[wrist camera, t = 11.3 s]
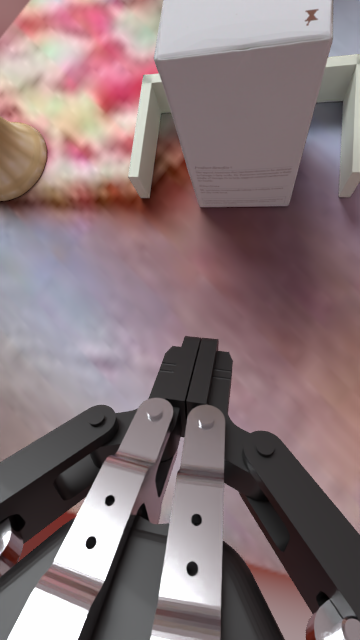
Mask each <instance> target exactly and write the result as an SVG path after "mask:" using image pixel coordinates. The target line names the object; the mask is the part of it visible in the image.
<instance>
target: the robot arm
mask: <svg viewBox="0 0 360 640" xmlns="http://www.w3.org/2000/svg"><path fill="white" fill-rule="evenodd" d="M218 342H219V341H218V339H209V338H202V339H201V338H199V337H189V336H185V338H184V341H183V344H182V347H176V346H172V347H171V348H170V349H169V350H168V351H167V352H166V353H165V356H164V359H163V361H162V364H161V367H160V371H159V372H158V375H157V378H156V380H155V383H154V386H153V388H152V391H151V394H150V397H149V399H148V400H146V401H144V402H143V403H142V404H141V405H140V406H139V408H138V409H136V410H133V411H128V412H121V413H115V412H114V410H113V409H112V408H110V407H109V406H106V405H97V406H93V407H91V408H89V409H87V410H86V411H84V412H82V413H81V414H79V415H78V416H76V417H74V418H73V419H71V420H69V421H68V422H66V423H64V424H63V425H61V426H59V427H58V428H56V429H54V430H53V431H51V432H49V433H48V434H46V435H45V436H43V437H41V438H40V439H38V440H36V441H35V442H33V443H31V444H30V445H28V446H26V447H25V448H23V449H21V450H20V451H18V452H16V453H15V454H13V455H12V456H10V457H8V458H7V459H5V460H3V461H2V462H0V640H285V639H284V637H283V635H282V633H281V631H280V629H279V627H278V625H277V623H276V621H275V619H274V617H273V615H272V613H271V611H270V609H269V607H268V605H267V603H266V601H265V599H264V597H263V595H262V593H261V591H260V589H259V587H258V585H257V583H256V581H255V579H254V577H253V575H252V573H251V571H250V569H249V568H248V566H247V565H246V563H245V562H244V560H243V559H242V558H241V557H240V555H239V554H238V553H237V552H236V551H235V550H234V549H233V548H232V547H231V546H229V545H228V544H227V543H225V542H224V541H223V505H224V483H226V484H227V485H229V486H231V487H233V488H234V489H236V490H238V491H239V494H240V496H241V498H242V499H243V501H244V502H245V504H246V506H247V507H248V509H249V511H250V512H251V514H252V515H253V517H254V519H255V520H256V522H257V524H258V525H259V527H260V529H261V530H262V532H263V533H264V535H265V537H266V538H267V540H268V542H269V543H270V545H271V547H272V548H273V550H274V551H275V553H276V555H277V556H278V558H279V560H280V561H281V563H282V564H283V566H284V568H285V569H286V571H287V573H288V574H289V576H290V578H291V579H292V581H293V582H294V584H295V586H296V587H297V589H298V591H299V592H300V594H301V596H302V597H303V599H304V600H305V602H306V604H307V605H308V607H309V608H310V610H311V612H312V614H313V615H312V616H311V618H310V619H309V621H308V624H307V628H306V640H360V535H359V533H358V532H357V531H356V530H355V529H354V527H353V526H352V525H351V524H350V523H349V521H348V520H347V519H346V518H345V517H344V515H343V514H342V513H341V512H340V511H339V509H338V508H337V507H336V506H335V505H334V503H333V502H332V501H331V500H330V499H329V497H328V496H327V495H326V494H325V493H324V491H323V490H322V489H321V488H320V487H319V485H318V484H317V483H316V482H315V481H314V479H313V478H312V477H311V476H310V475H309V473H308V472H307V471H306V470H305V469H304V467H303V466H302V465H301V464H300V463H299V461H298V460H297V459H296V458H295V457H294V455H293V454H292V453H291V452H290V451H289V449H288V448H287V447H286V446H285V445H284V443H283V442H282V441H281V440H280V439H279V438H278V437H277V436H276V435H274V434H272V433H270V432H267V431H255V432H252V433H249V432H247V431H245V430H242V429H241V428H239V427H237V426H236V425H235V424H234V423H233V422H232V421H231V420H230V418H229V416H228V407H229V397H230V388H231V377H232V363H233V361H232V358H231V356H230V354H229V352H222V351H218ZM180 437H185V438H184V445H183V452H182V459H181V466H180V470H179V471H178V473H177V478H176V484H175V491H174V497H173V504H172V511H171V518H170V523H169V524H158V523H159V519H160V514H161V506H162V501H163V497H164V494H165V491H166V488H167V485H168V482H169V478H170V475H171V472H172V469H173V466H174V463H175V460H176V456H177V449H178V445H179V441H180ZM86 496H87V497H86ZM85 497H86V499H85V501H84V503H83V505H82V507H81V509H80V510H79V512H78V514H77V516H76V518H74V519H72V520H71V521H69V522H67V523H66V524H65V525H63V526H62V527H61V528H59V529H58V530H57V531H56V532H54V533H53V534H52V535H51V536H50V537H48V538H47V539H46V540H45V541H44V542H42V543H41V544H40V545H39V546H37V547H36V548H35V549H34V550H33V551H31V552H30V553H29V554H28V555H26V556H25V557H24V558H23V559H22V560H20V561H19V562H18V560H19V557H20V554H21V552H22V547H23V544H24V543H25V542H27V541H28V540H29V539H31V538H32V537H33V536H34V535H36V534H37V533H39V532H40V531H41V530H42V529H44V528H45V527H46V526H47V525H49V524H50V523H52V522H53V521H54V520H56V519H57V518H58V517H60V516H61V515H62V514H64V513H65V512H66V511H68V510H69V509H70V508H72V507H73V506H74V505H76V504H77V503H78V502H80V501H81V500H82V499H84V498H85ZM17 562H18V563H17Z"/></svg>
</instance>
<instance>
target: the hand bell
mask: <svg viewBox="0 0 360 640" xmlns="http://www.w3.org/2000/svg"><path fill="white" fill-rule="evenodd" d="M46 159H47V148H46V144H45V141H44V139H43V137H42V135H41V134H40V133H39V132H38V131H37V130H36V129H35V128H33V127H31V126H29V125H27V124H23V123H19V122H9V121H7V120H5V119H3V118H2V117H0V201H6V200H11V199H14V198H17V197H19V196H20V195H22V194H24V193H25V192H27V191H28V190H29V189H30V188H31V187H32V186H33V185H34V184H35V183H36V182H37V180H38V179H39V178H40V176H41V174H42V172H43V170H44V167H45V163H46Z"/></svg>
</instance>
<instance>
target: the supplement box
mask: <svg viewBox="0 0 360 640" xmlns="http://www.w3.org/2000/svg"><path fill="white" fill-rule="evenodd" d="M332 40H333V0H163V6H162V12H161V18H160V24H159V30H158V37H157V43H156V49H155V55H154V61H155V64H156V67H157V70H158V72H159V75H160V78H161V81H162V84H163V87H164V90H165V94H166V97H167V100H168V103H169V107H170V110H171V113H172V117H173V120H174V124H175V127H176V130H177V134H178V137H179V141H180V144H181V148H182V151H183V154H184V158H185V161H186V165H187V168H188V171H189V175H190V178H191V181H192V185H193V188H194V190H195V194H196V197H197V200H198V203H199V206H200V207H254V206H288V205H289V203H290V200H291V196H292V192H293V188H294V184H295V180H296V177H297V173H298V169H299V165H300V161H301V158H302V154H303V150H304V146H305V142H306V139H307V135H308V131H309V127H310V123H311V120H312V116H313V112H314V108H315V104H316V101H317V97H318V93H319V89H320V86H321V82H322V78H323V74H324V70H325V66H326V63H327V59H328V55H329V52H330V48H331V44H332Z"/></svg>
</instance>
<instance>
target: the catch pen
mask: <svg viewBox="0 0 360 640" xmlns="http://www.w3.org/2000/svg"><path fill="white" fill-rule="evenodd" d="M335 101H343V113H342V134H341V156H340V177H339V197H351V195H352V193H353V192H354V190H355V189H356V187H357V185H358V184H359V182H360V54H355V55H345V56H335V57H328V59H327V63H326V66H325V70H324V74H323V78H322V82H321V86H320V89H319V93H318V97H317V101H316V103H320V102H335ZM161 113H171V110H170V107H169V103H168V100H167V97H166V94H165V90H164V87H163V84H162V81H161V78H160V75H159V74H149V75H143V81H142V88H141V94H140V101H139V108H138V114H137V121H136V128H135V134H134V141H133V148H132V154H131V161H130V168H129V175H128V178H129V179H130V181H131V183H132V184H133V186H134V188H135V189H136V191H137V193H138V194H139V196H140V198H150V192H151V184H152V177H153V170H154V162H155V155H156V148H157V141H158V133H159V126H160V119H161Z"/></svg>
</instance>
